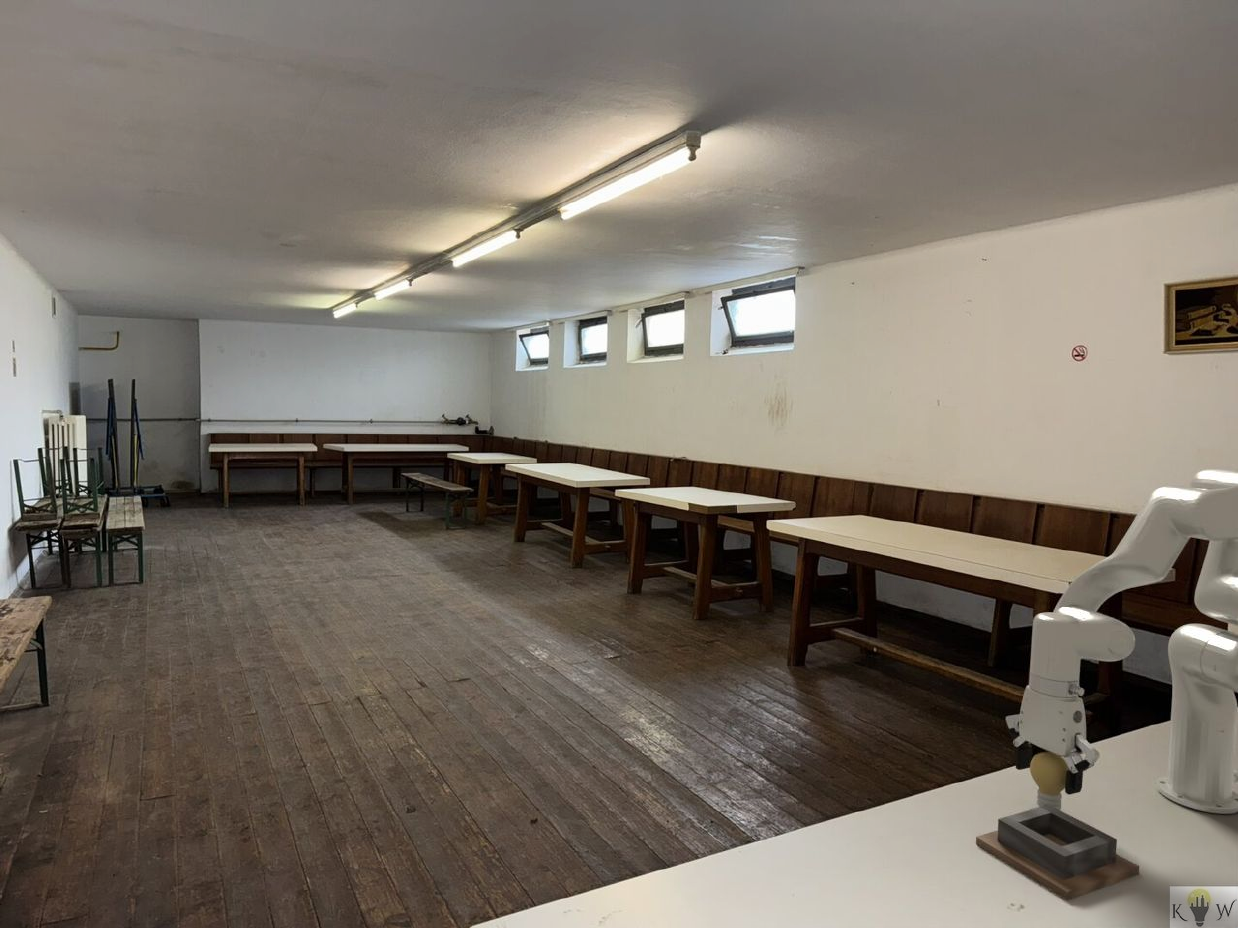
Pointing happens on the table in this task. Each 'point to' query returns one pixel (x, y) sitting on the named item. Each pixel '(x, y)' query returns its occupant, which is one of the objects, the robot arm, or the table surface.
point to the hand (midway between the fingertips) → (1047, 779)
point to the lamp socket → (1058, 851)
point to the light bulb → (1049, 778)
